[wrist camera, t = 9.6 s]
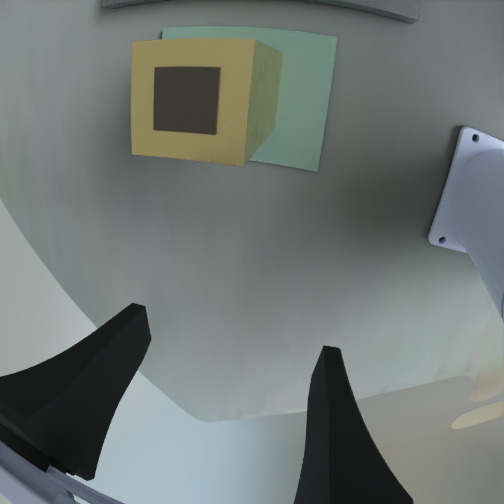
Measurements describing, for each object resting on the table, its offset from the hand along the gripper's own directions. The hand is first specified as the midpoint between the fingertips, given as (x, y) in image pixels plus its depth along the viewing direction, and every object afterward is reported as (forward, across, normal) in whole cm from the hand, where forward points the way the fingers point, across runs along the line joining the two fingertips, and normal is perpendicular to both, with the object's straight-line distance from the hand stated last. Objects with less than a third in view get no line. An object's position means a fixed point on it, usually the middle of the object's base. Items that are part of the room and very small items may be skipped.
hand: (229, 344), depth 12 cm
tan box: (+10, +3, -8) cm, 13 cm away
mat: (+10, +3, -8) cm, 13 cm away
